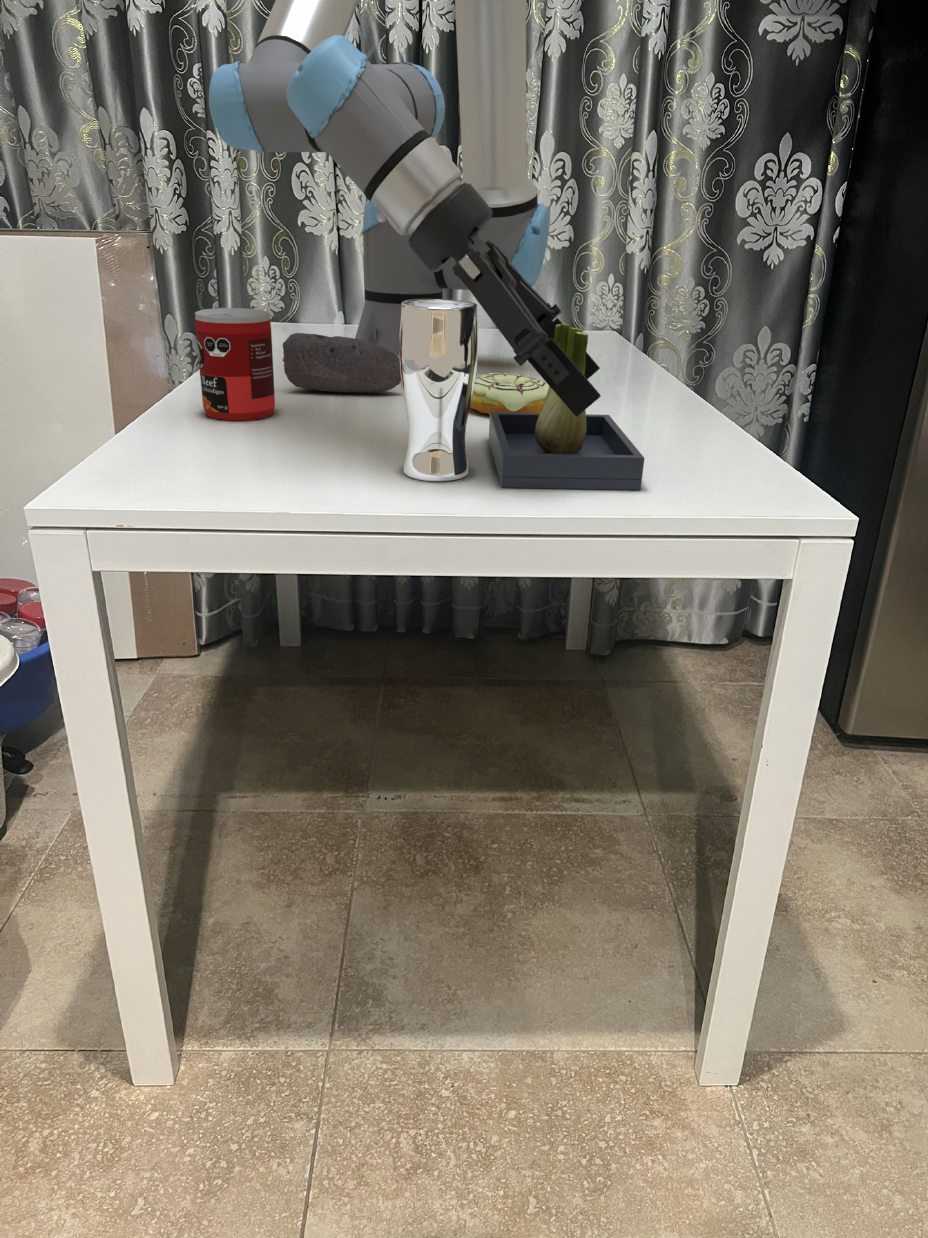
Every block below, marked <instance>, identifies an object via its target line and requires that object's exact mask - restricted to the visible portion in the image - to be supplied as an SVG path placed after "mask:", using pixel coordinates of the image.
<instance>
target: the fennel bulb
mask: <svg viewBox="0 0 928 1238" xmlns="http://www.w3.org/2000/svg"><path fill="white" fill-rule="evenodd" d="M554 341H555V342H556V343H557V344H558V345H559V347H560V348H561V349H562V350H563V351H564V352H565V354H566V355H567V356H568V357H569V358H570V360H571V361H572V362H573V363H574V364H575V365H576V367H577V368H578V369H579V370H580V371H581V372H582V374H583V375H584V376H585V364H586V352H587V349H588V344H589V334H588V333H586V332H584V330H583V329H581V328H577V327H572V326H571V325H570V324H567V323H563V324H561V325H560V324H558V325H556V326H555V335H554ZM586 414H587V411H586V410H584V411H583V412H582V413H581V414H580V415H579V416H577V417H576V416H575V415H574V414H573V413H572V411H571V410H570V409H569V408H568V407H567V406H566V404H565V403H564V402H563V401H562V400H561V399H560V397H559V396H558V395H557V394H556V393H555V392H554V391H553V389H552V388H551V387H550V386H549V389H548V392H547V396H546V400H545V403H544V407H543V409H542V411H541V413H540V415H539V417H538V420H537V423H536V427H535V438H536V442H537V444H538V445H539V446H540V447H541V448H542V449H543V450H544V451H546V452H548V453H552V454H573V453H575V452H578V451H579V450H581V448H582V447H583V442H584V439H585V435H586Z"/></svg>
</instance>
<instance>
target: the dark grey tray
mask: <svg viewBox="0 0 928 1238" xmlns="http://www.w3.org/2000/svg"><path fill="white" fill-rule="evenodd" d="M539 415H540V413H503V412H490V415H489V424H488V443H489V446H490V450H491V454H492V458H493V461H494V465H495V468H496V472H497V475H498V479H499V483H500V487H501V488H503V489H505V488H508V489H555V490H556V489H557V490H558V489H559V490H560V489H561V490H562V489H563V490H613V491H614V490H618V491H619V490H620V491H641V490H642V482H643V474H644V467H645V466H644V465H645V457H644V455H643V454H642V453H641V452H640V451H639V449H638V448H637V447H636V445H635V444H634V443H633V442H632V441H631V440H630V438H628V436H627V435H626V433H625V432H624V431H623V430H622V429H621V428H620V426H619V425H618V424H617V423H616V422H615V420H614V419H613V418H612V417H611V415H610V414H590V413H589V414H588V413H586V435H585V439H584V442H583V447H582V448H581V450H579V451H578V452H575V453H573V454H552V453H548V452H546V451H544V450H543V449H542V448H541V447H540V446H539V445H538V444H537V442H536V438H535V427H536V423H537V420H538V417H539Z"/></svg>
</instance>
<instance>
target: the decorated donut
mask: <svg viewBox="0 0 928 1238" xmlns="http://www.w3.org/2000/svg"><path fill="white" fill-rule="evenodd" d="M548 389H549V385H548V384H547V382H546V381H545V380H542V379H540V378H539V379H538V378H537V377H536V378H535V377H531V376H529V375H523V374H516V373H505V372H487V373H483V374H479V375H476V378H475V384H474V389H473V394H472V399H471V404H470V409H471V410H476V411H477V412H478V413H480V414H487V415H489V416H490V412H503V413H541V411H542V409H543V407H544V403H545V400H546V396H547V392H548Z"/></svg>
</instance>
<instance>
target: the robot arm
mask: <svg viewBox="0 0 928 1238" xmlns="http://www.w3.org/2000/svg"><path fill="white" fill-rule="evenodd" d="M359 2H360V0H275V1H274V3H273V5H272V8H271V10H270V13H269V15H268V17H267V20H266V22H265V24H264V25H263V26H264V27H263V29H262V31H261V33H260V36H259V39H258V41H257V43H256V45H255V47H254V49H253V51H252V54H251V55H250V58H249V60H248V62H246V63H243V62H242V61H240V60H238V61H235V62H234V63H225V64H222V65H220V66H219V67H217V68H216V69H215V70H214V71H213V73H212V75H211V79H210V82H209V88H208V106H209V112H210V116H211V120H212V123H213V126H214V127H215V128H216V131H217V135H218V136H219V138H220V139H221V140H222V142H223V143H225V144H226V145H227V146H229V147H231V148H232V149H237V150H244V151H245V150H246V151H254V152H260V153H325V154H326V153H327V155H329V157H331V159H332V161H334V162H335V163H336V164H337V166H339V168H340V169H341V170H342V171H343V172H344V173H345V174H346V175H347V177H348V178H349V179H350V180H351V181H352V182H353V183H354V185H356V187H357V188H358V189H359V190H360V192H361V193H362V194H364V196H365V198H366V199H367V201H366V202H365V204H364V208H363V227H362V230H361V235H362V245H363V246H362V247H363V249H362V251H363V253H362V255H363V285H364V286H363V290H364V292H363V293H364V295H363V296H364V300H363V302H364V303H363V309H362V312H361V316H360V320H359V322H358V326H357V329H356V332H355V336H354V339H360V340H364V341H368V342H371V343H374V344H377V345H380V346H382V347H384V348H386V349H388V350H389V351H391V352H393V353H394V354H395V355H397V356H398V357H399V333H400V320H401V306H402V305H401V303H402V302H403V301H406V300H414V299H444V296H443V294H444V290H445V289H446V290H460V291H463V290H464V291H469V292H470V293H471V294H472V296H473V297H474V298H475V300H476V301H477V302H478V304H479V305H480V307H481V309H483V311H484V312H485V313H486V314H487V316H488V317H489V319H490V320H491V321H492V323H493V324H494V325H495V327H496V328H497V329H498V331H499V332H500V333H501V335H502V336H503V338H504V339H505V341H506V342H507V343H508V344H509V345H510V347H511V349H512V350H513V353H514V354H515V355H514V356H513V360H514V361H515V362H516V363H517V365H519V366H521V367H522V366H523V365H524V364H525V363H526V362H528V363H529V364H530V365H531V366H532V368H533V369H534V370H535V371H536V372H537V373H538V375H539V376H540V377H541V378H542V379H543V381H544V382H546V383H547V384H548V385H549V386H550V387H551V388H552V389H553V391H554V392H555V393H556V394H557V395H558V396H559V397H560V399H561V400H562V401H563V402H564V403H565V404H566V406H567V407H568V408H569V409H570V410H571V411H572V413H573V414H574V415H575V416H576V417H577V416H579V415H580V414H581V413H582V412H583V411H584V410H586V409H588V408H590V406H591V405H593V404H594V403H595V402H596V401H597V400H599V399H600V398H601V396H602V395H601V393H600V392H599V391H598V389H596V388H595V386H594V385H593V384H592V383H591V382H590V381H589V379H590V378H591V377H592V376H593V375H594V374H596V373H597V372H598V371H599V370H600V366H599V365H598V364H597V362H596V361H595V360H594V359H593V358H592V356H591V355H590V354H589V353H588V352H587V351H586V364H585V376H584V375H583V374H582V372H581V371H580V370H579V369H578V368H577V367H576V365H575V364H574V363H573V362H572V361H571V360H570V358H569V357H568V356H567V355H566V354H565V352H564V351H563V350H562V349H561V348H560V347H559V345H558V344H557V343H556V342H555V341H554V335H555V326H556V325H558V324H560V325H561V324H564V323H563V322H562V321H561V320H560V318H559V317H558V316H559V315H560V314H561V313H563V312H562V310H561V308H560V306H558V305H557V303H554V304H553V305H552V306H551V304H550V303H549V302H547V301H546V300H545V299H544V298H543V297H542V296H541V295H540V294H539V293H538V292H537V290H536V289H535V288H534V287H535V286H536V284H537V282H538V280H539V277H540V274H541V271H542V268H543V265H544V261H545V257H546V253H547V252H546V251H547V247H548V242H549V236H550V235H549V234H550V227H551V211H550V210H551V209H550V207H549V206H548V205H547V204H544V203H539V202H538V199H539V198H538V197H539V196H538V193H539V192H538V191H539V190H538V186H537V185H536V184H535V183H534V182H533V181H532V180H531V179H530V178H529V177H528V175H527V0H454V10H455V13H454V14H455V33H456V56H457V76H458V77H457V78H458V79H457V80H458V98H459V99H458V100H459V101H458V102H459V122H460V123H459V125H460V147H461V164H462V165H461V166H462V170H460V169H459V167H458V166H457V165H456V164H455V162H454V161H453V160H452V158H451V157H450V156H449V155H448V154H447V153H446V151H445V150H444V149H443V148H442V146H440V144H439V143H438V142H437V141H436V139H435V138H436V137H437V136H438V134H439V133H440V131H441V128H442V126H443V123H444V120H445V113H446V102H445V96H444V92H443V89H442V88H441V85H440V83H439V82H438V80H437V79H436V77H435V76H434V75H433V74H432V73H431V72H430V71H428V70H427V69H426V67H423V66H421V65H418V64H414V63H413V62H409V61H405V62H398V61H395V62H392V63H389V64H388V63H386V64H385V63H383V64H379V63H377V64H374V63H373V64H372V63H371V62H370V61H369V60H368V56H367V54H366V53H364V52H361V51H360V50H359V49H358V48H357V47H356V46H355V44H354V43H353V42H352V41H351V40H350V39H349V38H348V37H347V36H346V35H347V33H348V29H349V27H350V25H351V23H352V20H353V18H354V15H355V11H356V9H357V7H358V4H359ZM461 178H462V179H461Z"/></svg>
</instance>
